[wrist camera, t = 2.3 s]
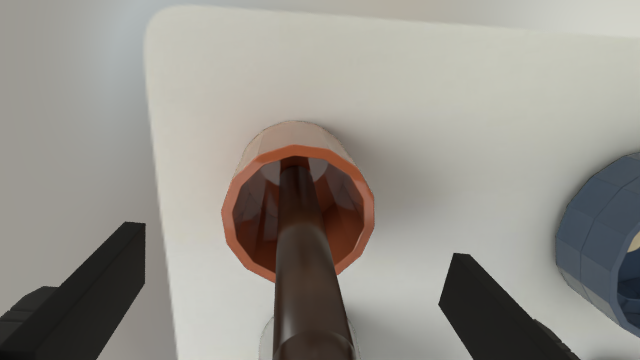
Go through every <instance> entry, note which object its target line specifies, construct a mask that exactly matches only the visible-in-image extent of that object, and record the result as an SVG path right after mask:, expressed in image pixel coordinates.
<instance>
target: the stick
mask: <svg viewBox="0 0 640 360" xmlns="http://www.w3.org/2000/svg"><path fill="white" fill-rule="evenodd" d="M272 360H356V353H355V349H354V345H353V341H352V337H351V332H350V328H349V324H348V320H347V316H346V312H345V308H344V304H343V300H342V296H341V292H340V288H339V283H338V279H337V275H336V271H335V267H334V263H333V259H332V255H331V251H330V247H329V243H328V239H327V235H326V230H325V226H324V222H323V218H322V214H321V210H320V206H319V202H318V198H317V194H316V190H315V186H314V182H313V178H312V175H311V174H310V172H309V171H308V170H307V169H306V168H304V167H301V166H291V167H289V168H287V169H286V170H284V171H283V173H282V174H281V177H280V180H279V202H278V227H277V253H276V278H275V303H274V328H273V354H272Z"/></svg>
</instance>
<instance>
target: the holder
mask: <svg viewBox="0 0 640 360" xmlns="http://www.w3.org/2000/svg"><path fill="white" fill-rule="evenodd" d="M291 166H301V167H304V168H306V169H307V170H308V171H309V172H310V174H311V175H312V178H313V182H314V186H315V190H316V194H317V198H318V202H319V206H320V210H321V214H322V218H323V222H324V226H325V230H326V235H327V239H328V243H329V247H330V251H331V255H332V259H333V263H334V267H335V271H336V275H338V274H340V273H341V272H342V271H343V270H344V269H346V268H347V267H348V266H349V265H350V264H352V263H353V262H354V261H355V260H356V259H357V258H359V257H360V256H361V255H362V253H363V250H364V248H365V246H366V244H367V242H368V240H369V238H370V236H371V234H372V232H373V229H374V226H375V223H374V196H373V193H372V192H371V190H370V188H369V186H368V185H367V183H366V181H365V179H364V177H363V176H362V174H361V172H360V170H359V169H358V167H357V166H356V164H355V163H354V161H353V160H352V158H351V157H350V156H349V154H348V153H347V151H346V150H345V148H344V147H343V146H342V144H341V143H340V141H339V140H338V139H337V138H336V137H334V136H333V135H332V134H331V133H329V132H328V131H326V130H325V129H323V128H321V127H320V126H318V125H316V124H312V123H308V122H302V121H288V122H283V123H279V124H276V125H273V126H271V127H269V128H266V129H264V130H263V131H262V132H261V133H260V134H259V135H257V136H256V137H255V138H254V139H253V141H252V142H251V143H250V144H249V145H248V146H247V147H246V149H245V151H244V153H243V156H242V158H241V160H240V162H239V165H238V167H237V169H236V171H235V174H234V176H233V178H232V180H231V183H230V186H229V189H228V192H227V195H226V198H225V201H224V204H223V207H222V210H221V215H222V221H223V226H224V232H225V238H226V242H227V245H228V246H229V247H230V248H231V250H232V251H233V252H234V254H235V255H236V256H237V258H238V259H239V260H240V262H241V263H242V264H243V265H244V267H245V268H247V269H248V270H250V271H252V272H254V273H256V274H258V275H260V276H262V277H264V278H265V279H267V280H269V281H271V282H273V283H275V278H276V253H277V227H278V202H279V180H280V177H281V174H282V173H283V171H284V170H286V169H287V168H289V167H291Z"/></svg>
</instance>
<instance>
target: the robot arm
mask: <svg viewBox="0 0 640 360" xmlns="http://www.w3.org/2000/svg"><path fill="white" fill-rule="evenodd" d="M145 226H146V224H145V223H135V222H124V223H123V224H122V225H121V226H120V227H119V228H118V229H117V230H116V231H115V232H114V233H113V234H112V235H111V236H110V237H109V238H108V239H107V240H106V241H105V242H104V243H103V244H102V245H101V246H100V247H99V248H98V249H97V250H96V251H95V252H94V253H93V254H92V255H91V256H90V257H89V258H88V259H87V260H86V261H85V262H84V263H83V264H82V265H81V266H80V267H79V268H78V269H77V270H76V271H75V272H74V273H73V274H72V275H71V276H70V277H69V278H68V279H67V280H66V281H64V283H62V284H61V286H59V287H48V286H43V287H41V288H39V289H37V290H35V291H33V292H31V293H29V294H27V295H25V296H24V297H23V298H22V299H21V300H19V301H18V302H17V303H16V304H15V305H14V306H13V307H12V308H11V309H10V311H7V312H6V313H5V314H4V315H3V316H1V317H0V360H96V359H97V358H98V356H99V355H100V353H101V351H102V350H103V348H104V347H105V345H106V344H107V342H108V340H109V339H110V337H111V336H112V334H113V333H114V331H115V329H116V328H117V326H118V325H119V323H120V322H121V320H122V318H123V317H124V315H125V314H126V312H127V310H128V309H129V307H130V306H131V304H132V303H133V301H134V299H135V298H136V296H137V295H138V293H139V292H140V290H141V289H142V287H143V285H144V284H145ZM438 305H439V307H440V308H441V310H442V311H443V313H444V314H445V316H446V318H447V319H448V321H449V322H450V324H451V325H452V327H453V328H454V330H455V332H456V333H457V335H458V336H459V338H460V339H461V341H462V342H463V344H464V346H465V347H466V349H467V350H468V352H469V353H470V355H471V356H472V358H473V360H580V359H579V358H578V357H577V356H576V355H575V354H574V353H573V352H571V350H570V349H569V348H568V347H567V346H566V345H565V344H564V343H562V341H561V340H560V339H559V338H558V337H557V336H556V335H555V334H554V333H553V332H552V331H551V330H550V329H549V328H547V327H546V326H544V325H543V324H541V323H540V322H538V321H537V320H536V319H532V318H531V317H530V316H529V315H528V314H527V313H526V312H525V311H524V310H523V309H522V308H521V307H520V306H519V304H518V303H517V302H516V301H515V300H514V299H513V298H512V297H511V296H510V295H509V294H508V293H507V292H506V291H505V290H504V289H503V288H502V287H501V286H500V285H499V284H498V283H497V282H496V281H495V280H494V279H493V278H492V277H491V276H490V275H489V274H488V273H487V272H486V271H485V270H484V269H483V268H482V267H481V266H480V265H479V264H478V263H477V262H476V260H475V259H474V258H473V257H472V256H471V255H470V254H460V253H453V257H452V260H451V264H450V267H449V270H448V274H447V277H446V280H445V284H444V287H443V291H442V294H441V297H440V301H439V304H438Z"/></svg>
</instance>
